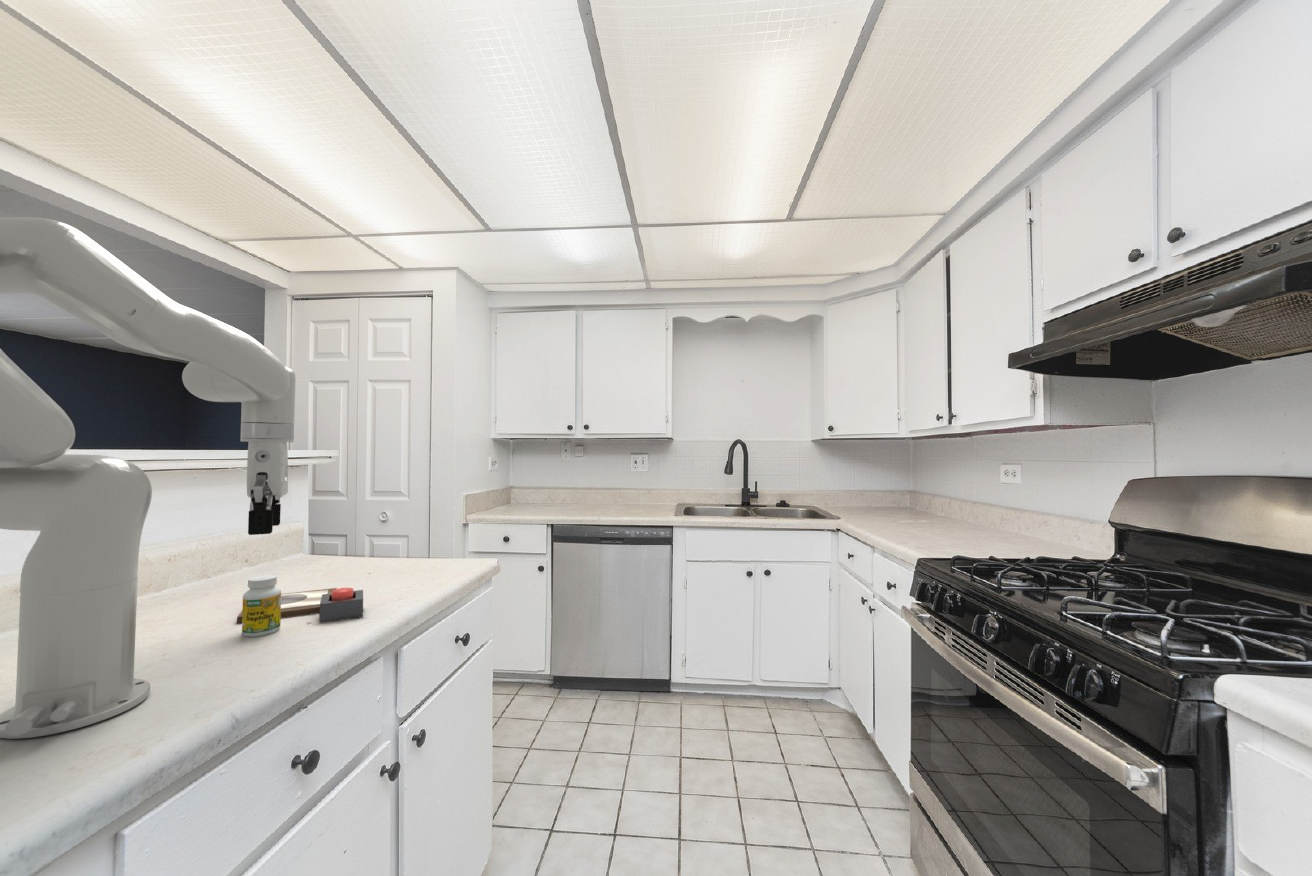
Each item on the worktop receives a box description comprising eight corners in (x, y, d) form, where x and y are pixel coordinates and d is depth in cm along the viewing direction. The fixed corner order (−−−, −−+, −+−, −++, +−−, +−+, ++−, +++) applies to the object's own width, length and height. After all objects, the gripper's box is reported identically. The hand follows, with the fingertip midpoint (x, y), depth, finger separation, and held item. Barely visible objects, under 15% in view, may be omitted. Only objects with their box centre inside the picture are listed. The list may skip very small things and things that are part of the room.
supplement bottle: (281, 624, 91) (283, 572, 92) (278, 634, 87) (280, 579, 87) (243, 630, 88) (245, 576, 89) (239, 640, 84) (241, 583, 84)
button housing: (362, 617, 96) (363, 598, 96) (319, 623, 92) (319, 604, 93) (362, 606, 102) (363, 589, 102) (321, 612, 99) (322, 594, 99)
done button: (352, 604, 97) (353, 591, 97) (330, 607, 95) (331, 593, 95) (353, 599, 100) (353, 586, 100) (331, 601, 98) (332, 589, 98)
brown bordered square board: (333, 611, 99) (333, 603, 99) (236, 623, 91) (237, 615, 91) (336, 593, 111) (336, 586, 111) (251, 602, 103) (251, 595, 103)
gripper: (288, 433, 83) (284, 536, 83) (298, 435, 98) (296, 521, 98) (229, 432, 79) (226, 539, 79) (250, 434, 94) (247, 524, 94)
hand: (264, 529), depth 88 cm, fingers open, 9 cm apart
